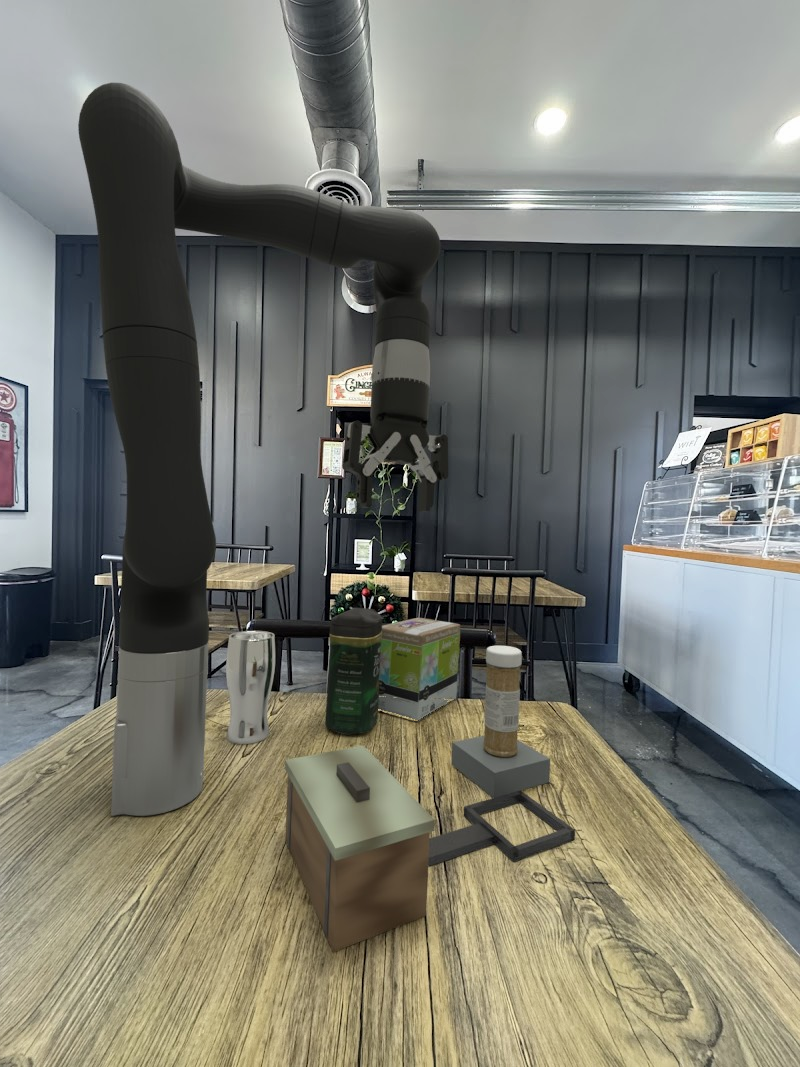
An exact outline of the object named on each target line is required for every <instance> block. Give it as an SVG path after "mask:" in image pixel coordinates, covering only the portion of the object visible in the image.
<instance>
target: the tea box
mask: <svg viewBox="0 0 800 1067" xmlns="http://www.w3.org/2000/svg"><path fill="white" fill-rule="evenodd" d="M460 641H461V624H459V623H455V622H450V621H449V622H448V621H444V620H443V621H442V620H437V619H431V618H424V617H423V618H422V617H416V618H410V619H406V620H402V621H396V622H392V623H387V624H384V625H383V624H382V638H381V652H380V673H379V696H386V697H379V703H378V709H381V710H384V711H388V712H392V713H396V714H399V715H402V716H406V717H409V718H412V719H415V720H419V719H421V718H422V719H424V718H425V717H424V716H426V715H427V716H428V714H429V713H430V714H432V713H431V712H432V711H434V710H435V709H437V708H439V707H441V706H443V705H444V706H446V705H447V704H446V703H448V702H447V701H448V700H444V699H431V698H445V699H454V698H455V700H456V699H457V693H458V692H457V691H458V674H459V658H460V657H459V656H460ZM393 697H397V698H393ZM445 704H446V705H445ZM448 704H449V703H448ZM444 706H443V707H444ZM441 708H442V707H441ZM439 709H440V708H439ZM437 710H438V709H437ZM434 712H435V711H434ZM430 714H429V715H430ZM427 716H426V717H427ZM423 717H424V718H423ZM422 719H421V720H422ZM419 721H420V720H419Z"/></svg>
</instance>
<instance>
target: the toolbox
mask: <svg viewBox="0 0 800 1067" xmlns="http://www.w3.org/2000/svg"><path fill="white" fill-rule="evenodd" d="M284 770H285V772H286V773H287V788H286V814H285V818H286V819H285V834H284V835H285V838H284V839H285V842H286V846H287V848H288V849H289V853H290V854H291V857H292V859H293V862H294V863H295V864H294V865H295V866H296V869H297V871H298V874H299V876H300V878H301V880H302V882H303V885H304V887H305V890H306V892H307V894H308V896H309V898H310V901H311V904H312V906H313V909H314V911H315V913H316V915H317V919H318V920H319V923H320V925H321V927H322V930H323V932H324V936H325V937H326V940H327V941H328V943H329V946H330V948H331V951H332V952H333V953H335V952H337V951H338V952H339V951H340V950H342V949H345V948H348V947H350V946H353V945H355V944H357V943H360V942H363V941H365V940H367V939H370V938H373V937H375V936H378V935H381V934H383V933H385V932H388V931H391V930H393V929H396V928H398V927H401V926H403V925H406V924H407V923H408V924H409V923H410V922H411V923H412V922H413V921H416V920H418V919H420V918H421V919H422V918H424V917H426V916H427V911H428V910H427V909H428V907H427V906H428V882H429V865H428V862H429V838H431V836H430V833H432V832H435V825H436V823H435V822H436V820H435V818H434V817H433V816H432V815H431V814H430V813H429V812H428V811H427V809H425V808H424V807H423V806H422V805H421V804H420V802H419V801H417V800H416V798H415V797H413V795H412V794H411V793H410V792H409V791H408V790H407V789H406V788H405V787H404V786H403V785H402V784H401V783H400V782H399V781H398V780H397V779H396V777H395V776H394V775H393V774H392V773H391V772H390V771H389V770H388V769H387V768H386V767H385V766H384V765H383V764H382V763H381V762H380V761H379V760H378V759H377V758H376V757H375V756H374V754H372V752H370V750H369V749H367V747H366V746H365V745H364V744H363V745H358V746H353V747H347V748H342V749H337V750H331V751H327V752H326V751H325V752H321V753H316V754H315V753H314V754H309V755H304V756H300V757H294V758H288V759H285V760H284Z"/></svg>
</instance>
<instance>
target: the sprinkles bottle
mask: <svg viewBox="0 0 800 1067" xmlns="http://www.w3.org/2000/svg"><path fill="white" fill-rule="evenodd" d="M485 652H486V655H485V662H486V681H485V682H486V684H485V696H484V697H485V700H484V701H485V702H484V734H483V736H484V744H483V748H484V749H485V750H486V751H487V752H488V753H490V754H492V755H495V756H499V757H510V756H513V755H515V754H516V753H517V752H518V747H517V740H518V731H519V730H518V729H519V723H520V722H519V718H520V717H519V716H520V695H521V689H520V676H521V673H520V672H521V670H520V669H521V666H522V664H523V663H522V658H523V657H522V656H523V654H522V653H523V652H522V651H521V649H519V648H517V647H514V646H509V645H492V646H491V645H490V646H488V647H487V648H486V651H485Z"/></svg>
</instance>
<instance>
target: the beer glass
mask: <svg viewBox="0 0 800 1067" xmlns="http://www.w3.org/2000/svg"><path fill="white" fill-rule="evenodd" d="M275 638H276V637H275V633H273V632H269V631H265V630H264V631H263V630H244V631H237V632H232V633H231V634H229V635H228V644H227V650H226V660H225V661H226V663H225V664H226V665H225V667H226V668H225V671H226V672H225V676H226V685H227V692H228V699H229V705H230V706H229V707H230V708H229V709H230V710H229V711H230V714H229V715H230V716H229V724H228V729H227V731H226V739H227V741H228V742H230V743H231V744H232V743H233V744H235V745H236V744H237V745H250V744H256V743H260V742H262V741H264V740H265V739H267V738H268V737H269V735H270V726H269V720H268V706H269V702H270V701H269V700H270V695H271V691H272V686H273V682H274V677H275V676H274V675H275V670H276V669H275V668H276V642H275Z"/></svg>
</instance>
